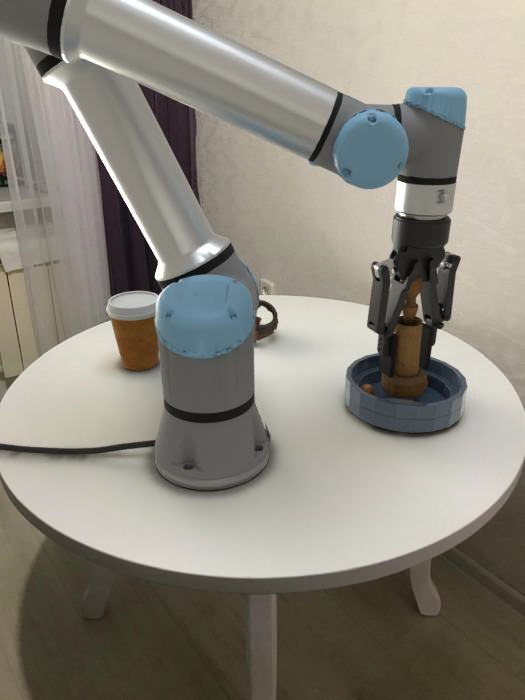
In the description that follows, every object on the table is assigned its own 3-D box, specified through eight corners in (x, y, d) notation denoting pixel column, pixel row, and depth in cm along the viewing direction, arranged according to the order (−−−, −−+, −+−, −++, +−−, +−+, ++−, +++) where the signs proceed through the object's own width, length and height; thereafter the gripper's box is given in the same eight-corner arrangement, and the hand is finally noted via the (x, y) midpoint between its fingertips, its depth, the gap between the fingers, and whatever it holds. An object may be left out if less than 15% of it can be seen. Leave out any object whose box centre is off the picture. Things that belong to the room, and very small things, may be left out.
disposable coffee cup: (103, 362, 105) (94, 298, 100) (149, 346, 111) (143, 286, 106) (130, 380, 99) (122, 313, 94) (178, 363, 104) (173, 299, 99)
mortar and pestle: (416, 374, 92) (426, 265, 84) (432, 395, 87) (445, 281, 78) (375, 378, 92) (381, 269, 83) (389, 401, 86) (397, 286, 77)
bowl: (388, 449, 80) (391, 417, 78) (324, 392, 95) (325, 364, 92) (488, 420, 87) (493, 390, 84) (413, 370, 101) (416, 344, 99)
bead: (367, 396, 92) (368, 405, 90) (355, 389, 92) (356, 397, 90) (377, 386, 91) (378, 394, 89) (364, 378, 91) (365, 386, 89)
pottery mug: (272, 325, 121) (283, 299, 115) (269, 362, 115) (280, 336, 109) (215, 313, 119) (222, 285, 113) (208, 349, 113) (216, 322, 107)
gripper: (380, 226, 72) (364, 393, 81) (497, 213, 79) (470, 368, 88) (347, 214, 78) (336, 370, 88) (458, 203, 85) (437, 349, 95)
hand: (403, 369), depth 88 cm, fingers closed on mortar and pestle, 6 cm apart
